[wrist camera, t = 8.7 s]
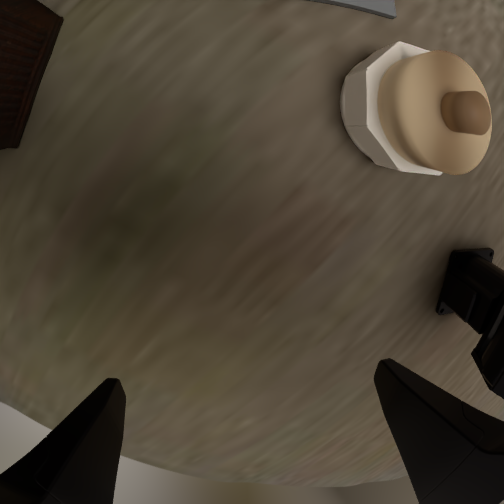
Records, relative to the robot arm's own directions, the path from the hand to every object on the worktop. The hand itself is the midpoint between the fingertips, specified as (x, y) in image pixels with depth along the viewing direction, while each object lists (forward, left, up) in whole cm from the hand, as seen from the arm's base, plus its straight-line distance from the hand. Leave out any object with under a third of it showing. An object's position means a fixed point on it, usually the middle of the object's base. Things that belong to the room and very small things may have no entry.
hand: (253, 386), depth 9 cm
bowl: (-11, -10, -12) cm, 19 cm away
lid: (-11, -10, -8) cm, 17 cm away
